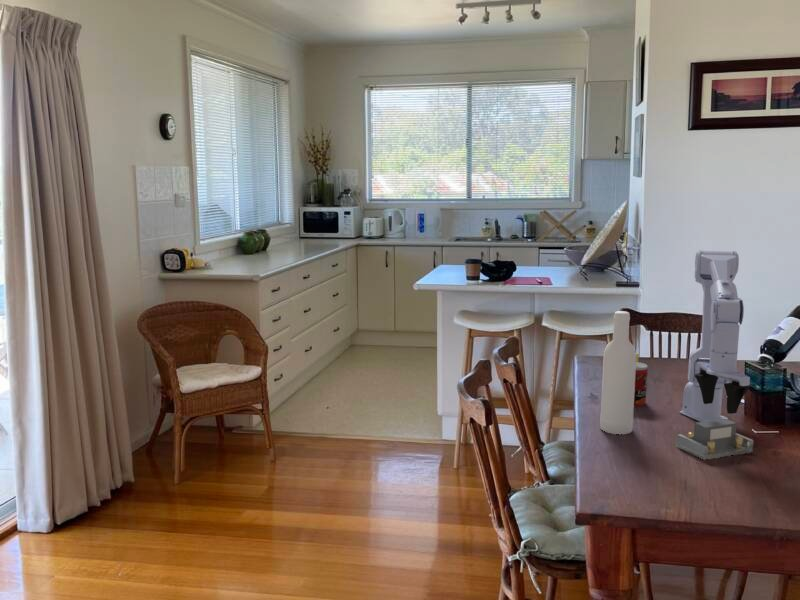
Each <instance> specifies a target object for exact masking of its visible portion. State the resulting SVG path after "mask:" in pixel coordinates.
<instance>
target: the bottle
mask: <svg viewBox="0 0 800 600" xmlns="http://www.w3.org/2000/svg"><path fill="white" fill-rule="evenodd" d="M630 320H631V315H630V312H628V311H626V310H624V311H623V310H617V311H615V312H614V314H613V330H612V331H613V332H612V333H613V336H612V340H611V341H609V343H607V344H606V346H605V349H604V351H603V359H602V360H603V361H602V364H603V365H602V378H601V379H602V382H601V403H600V415H599V417H600V418H599V422H600V423H599V429H600V430H601V431H602V430H603V431H602V432H604V431H605V432H604V433H606V432H607V434H610V433H611V434H610V435H616V434H619V435H621V434H622V435H621V436H623V435H624V436H625V435H629V434H631V433H632V432H633V426H634V407H635V406H634V391H635V372H636V353H637V351H636V349H635V345H633V344H632V343H631V342H630V340H629V334H630V332H629V331H630ZM619 435H618V436H619Z"/></svg>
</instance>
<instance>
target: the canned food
mask: <svg viewBox="0 0 800 600" xmlns="http://www.w3.org/2000/svg"><path fill="white" fill-rule="evenodd" d="M648 372H649V371H648V365H647V364H646V363H643V362H639V361H638V362H636V372H635V391H634V407H641V406H644V405H645V404H646V402H647V385H648Z"/></svg>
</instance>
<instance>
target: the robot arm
mask: <svg viewBox="0 0 800 600" xmlns="http://www.w3.org/2000/svg"><path fill="white" fill-rule="evenodd" d="M739 257H740V256H739V253H738V252H737V251H736V250H734V251H725V250H724V251H720V250H717V251H715V250H700V249H699V250H698V251H696V253H695V261H694V279H695V282H696V283H698V284H700V285H701V288H702V290H703V297H702V298H703V300H702V323H701V341H700V347H698V348H697V349H694V350H693V351H692V352H691V353H690V354H689V360H688V366H687V380H688V381H689V382H687V383H686V384H685V386H684V389H683V394H682V395H683V398H682V409H681V410H680V411H679V413H680V414H682V415H684V416H686V417H688V418H691V419H694V420H696V421H698V422H704V421H711V420H719V419H728V420H729V418H728V417H726V416H724V415H721V414H722V401H723V389H725V394H726V412H727V414H729V415H731V414H737V413H738V410H739V406H740V405H741V402H742V400H743V398H744V397H745V394H746V393H747V392H748V390H749V389H750V388H751V384H750V381H751V377H750V376H747V375H746V374H744V373H742V372H740V371H739V370H738V369H737V363H738V350H739V340H740V339H739V337H740V327H741V325H742V323H743V321H744V314H745V307H744V301H743V299H742V298H741V297H739V295H738V289H737V286H736V284H735V283H734V280H735V278H736V276H737V274H738V271H739V263H740V258H739Z"/></svg>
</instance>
